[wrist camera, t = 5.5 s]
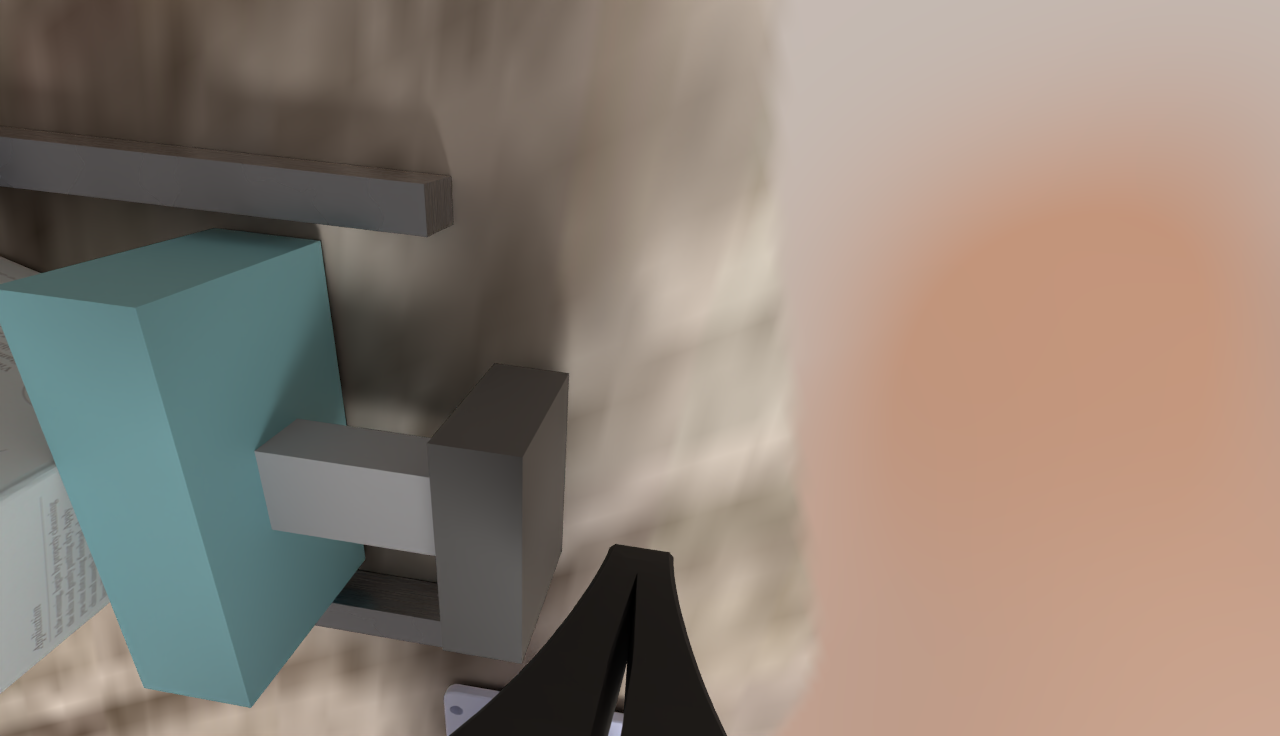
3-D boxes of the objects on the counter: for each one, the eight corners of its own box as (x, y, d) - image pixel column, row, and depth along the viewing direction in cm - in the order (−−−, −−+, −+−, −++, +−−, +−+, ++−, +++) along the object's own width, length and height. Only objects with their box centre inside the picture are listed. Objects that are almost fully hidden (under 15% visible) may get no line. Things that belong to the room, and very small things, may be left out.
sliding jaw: (565, 591, 20) (513, 756, 15) (283, 545, 21) (144, 688, 16) (579, 272, 15) (511, 358, 10) (214, 228, 16) (-14, 288, 11)
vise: (471, 614, 21) (385, 792, 16) (-13, 532, 23) (-243, 669, 17) (450, 176, 15) (294, 222, 9) (-220, 101, 16) (-689, 105, 11)
